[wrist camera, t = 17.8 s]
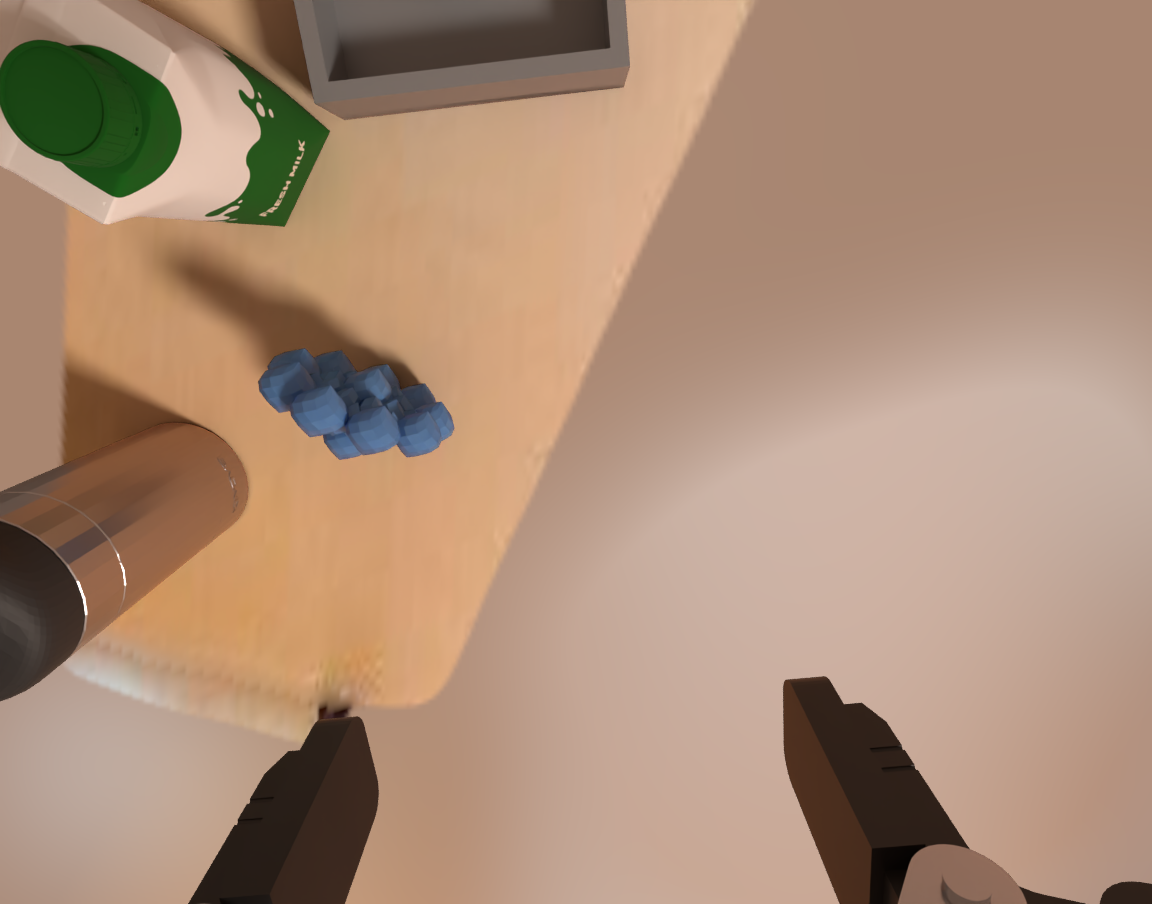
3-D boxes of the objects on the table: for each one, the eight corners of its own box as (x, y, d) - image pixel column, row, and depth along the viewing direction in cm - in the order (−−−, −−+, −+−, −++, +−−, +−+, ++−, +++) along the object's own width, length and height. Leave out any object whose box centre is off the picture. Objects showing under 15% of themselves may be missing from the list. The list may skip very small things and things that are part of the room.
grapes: (291, 399, 47) (201, 448, 36) (324, 315, 45) (239, 338, 34) (438, 467, 49) (397, 535, 37) (475, 389, 47) (443, 435, 36)
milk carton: (291, 246, 44) (74, 246, 25) (165, 168, 43) (-168, 105, 23) (350, 126, 42) (160, 25, 23) (219, 39, 40) (-102, -147, 21)
